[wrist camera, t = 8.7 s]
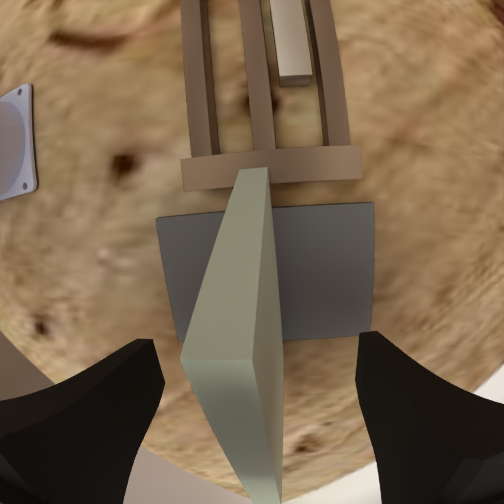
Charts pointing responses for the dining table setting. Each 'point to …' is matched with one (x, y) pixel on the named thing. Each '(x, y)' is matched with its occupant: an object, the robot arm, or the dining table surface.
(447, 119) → the dining table surface
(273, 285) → the sheet
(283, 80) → the offcut
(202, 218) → the mat
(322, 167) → the rack
